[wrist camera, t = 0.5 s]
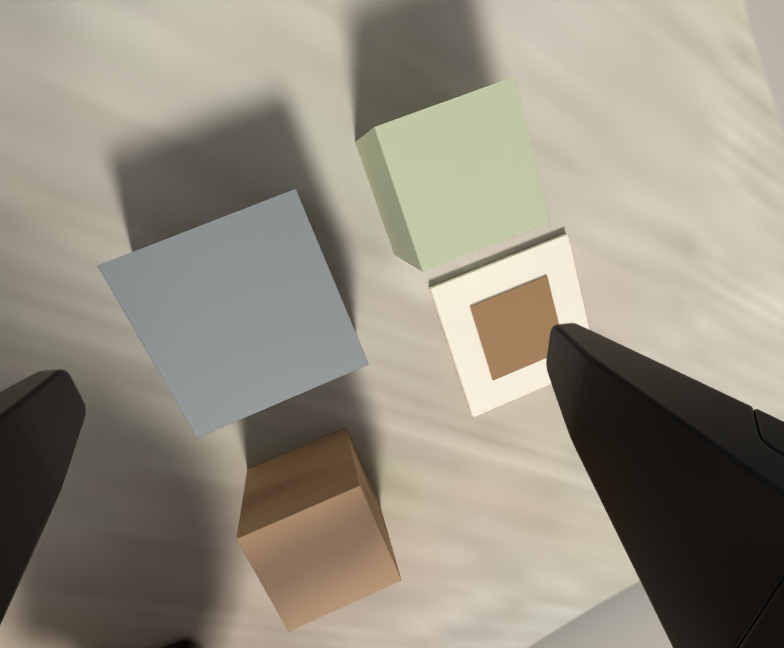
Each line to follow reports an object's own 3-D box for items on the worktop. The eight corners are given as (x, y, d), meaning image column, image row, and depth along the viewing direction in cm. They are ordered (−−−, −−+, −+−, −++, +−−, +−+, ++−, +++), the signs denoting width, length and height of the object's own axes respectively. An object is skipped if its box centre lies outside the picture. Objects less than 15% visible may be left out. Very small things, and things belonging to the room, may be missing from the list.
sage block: (494, 215, 22) (549, 221, 18) (394, 254, 22) (422, 271, 17) (463, 102, 21) (515, 76, 16) (355, 142, 20) (374, 126, 16)
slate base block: (355, 335, 23) (368, 364, 19) (212, 396, 22) (196, 438, 18) (294, 189, 20) (295, 188, 17) (134, 251, 20) (97, 265, 16)
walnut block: (380, 507, 25) (401, 580, 20) (289, 547, 25) (288, 631, 20) (345, 427, 24) (359, 485, 19) (247, 468, 23) (236, 539, 18)
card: (593, 362, 25) (598, 364, 25) (470, 414, 25) (473, 417, 24) (563, 234, 23) (568, 234, 23) (428, 287, 22) (431, 289, 22)
